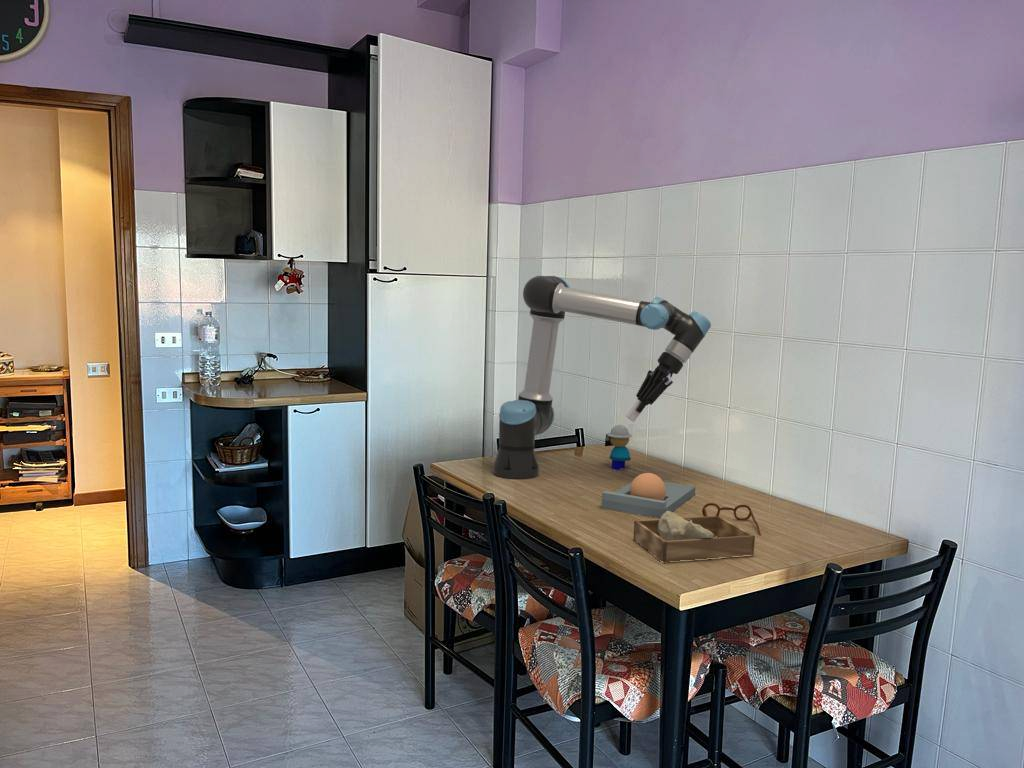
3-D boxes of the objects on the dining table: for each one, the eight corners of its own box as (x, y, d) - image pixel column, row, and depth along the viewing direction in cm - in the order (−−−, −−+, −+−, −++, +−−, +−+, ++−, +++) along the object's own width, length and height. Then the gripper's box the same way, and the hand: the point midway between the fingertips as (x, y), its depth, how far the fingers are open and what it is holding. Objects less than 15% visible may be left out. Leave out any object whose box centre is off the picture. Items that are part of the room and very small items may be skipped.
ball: (620, 475, 226) (625, 507, 228) (642, 485, 217) (646, 518, 220) (648, 464, 230) (653, 495, 233) (670, 473, 221) (675, 505, 224)
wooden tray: (633, 540, 197) (634, 520, 196) (717, 534, 203) (718, 515, 203) (663, 563, 181) (664, 542, 181) (753, 556, 188) (754, 536, 187)
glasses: (750, 521, 217) (751, 504, 216) (761, 537, 204) (762, 518, 203) (701, 519, 218) (702, 501, 217) (709, 534, 205) (710, 515, 204)
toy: (612, 463, 279) (614, 421, 277) (634, 467, 273) (637, 425, 272) (600, 468, 272) (602, 424, 270) (623, 472, 267) (625, 428, 265)
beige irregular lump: (655, 546, 201) (642, 523, 189) (671, 522, 203) (659, 498, 191) (708, 577, 192) (697, 555, 180) (724, 553, 194) (715, 529, 182)
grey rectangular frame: (638, 485, 250) (639, 471, 249) (695, 494, 241) (695, 480, 241) (601, 508, 224) (602, 492, 223) (663, 519, 215) (663, 502, 215)
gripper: (692, 368, 242) (647, 431, 241) (672, 360, 254) (629, 420, 254) (675, 354, 239) (630, 417, 239) (656, 347, 251) (612, 408, 251)
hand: (629, 419), depth 246 cm, fingers closed
